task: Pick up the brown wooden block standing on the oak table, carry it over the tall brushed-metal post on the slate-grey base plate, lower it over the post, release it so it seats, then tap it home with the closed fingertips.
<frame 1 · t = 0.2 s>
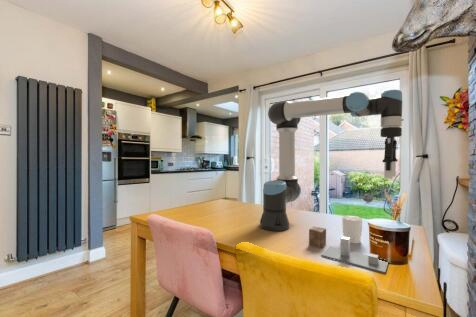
hand: (390, 177, 100), 28 cm above the table, fingers open, 13 cm apart
white cup: (351, 241, 101), on the table
stand: (354, 259, 84), on the table
brown wooden block: (317, 244, 97), on the table
post: (345, 256, 85), resting on stand
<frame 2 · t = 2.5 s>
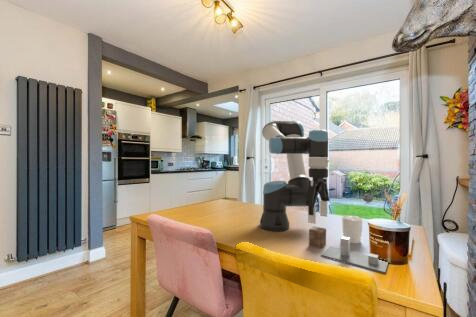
hand: (318, 219, 96), 11 cm above the table, fingers open, 13 cm apart
nothing on the table moved.
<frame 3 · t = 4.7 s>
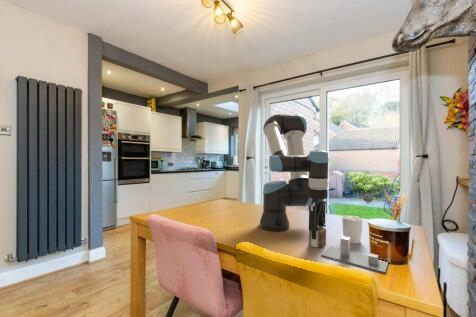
hand: (317, 244, 97), 0 cm above the table, fingers closed on brown wooden block, 5 cm apart
brown wooden block: (317, 244, 97), on the table, touching gripper
everything else where it was.
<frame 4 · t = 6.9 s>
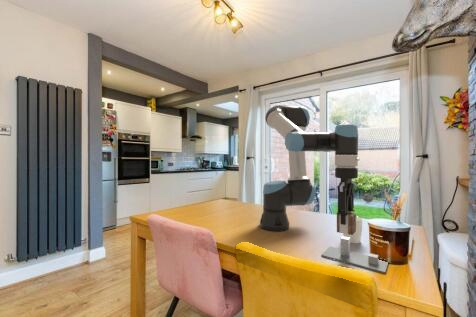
hand: (346, 230, 85), 10 cm above the table, fingers closed on brown wooden block, 5 cm apart
brown wooden block: (346, 231, 85), point 9 cm above the table, touching gripper
everything else where it was.
when the fingers open (1 cm above the table, at t = 8.8 s): brown wooden block stays where it is, resting on post.
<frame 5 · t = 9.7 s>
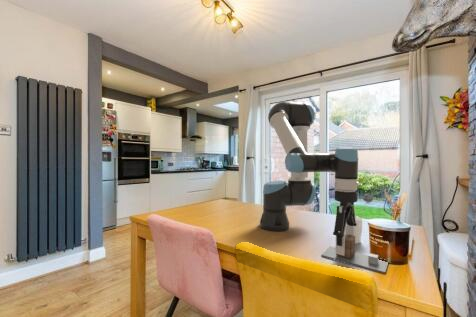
hand: (345, 248, 85), 3 cm above the table, fingers open, 13 cm apart
brown wooden block: (345, 254, 85), point 1 cm above the table, touching post
everything else where it was.
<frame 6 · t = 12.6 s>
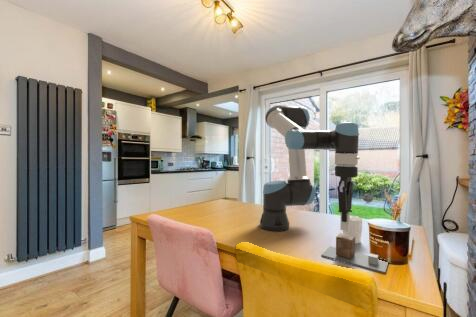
hand: (344, 229, 86), 10 cm above the table, fingers closed
nothing on the table moved.
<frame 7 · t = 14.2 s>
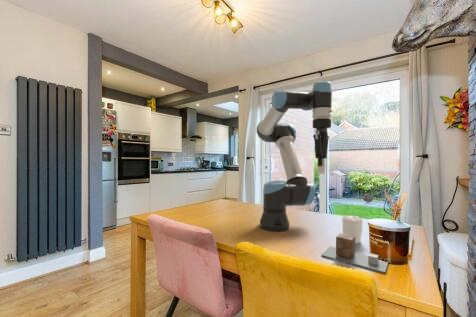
hand: (320, 173, 101), 29 cm above the table, fingers closed
nothing on the table moved.
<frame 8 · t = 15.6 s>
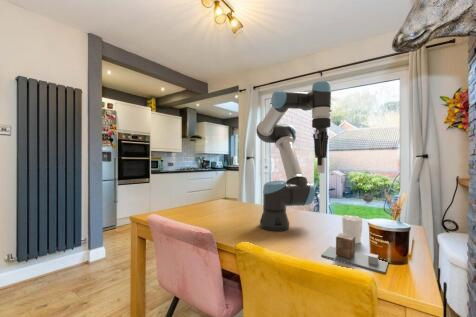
hand: (320, 172, 101), 29 cm above the table, fingers closed
nothing on the table moved.
at the end: brown wooden block 0.1 cm from the post (horizontally); brown wooden block point 1.0 cm above the table; the gripper is holding nothing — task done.
